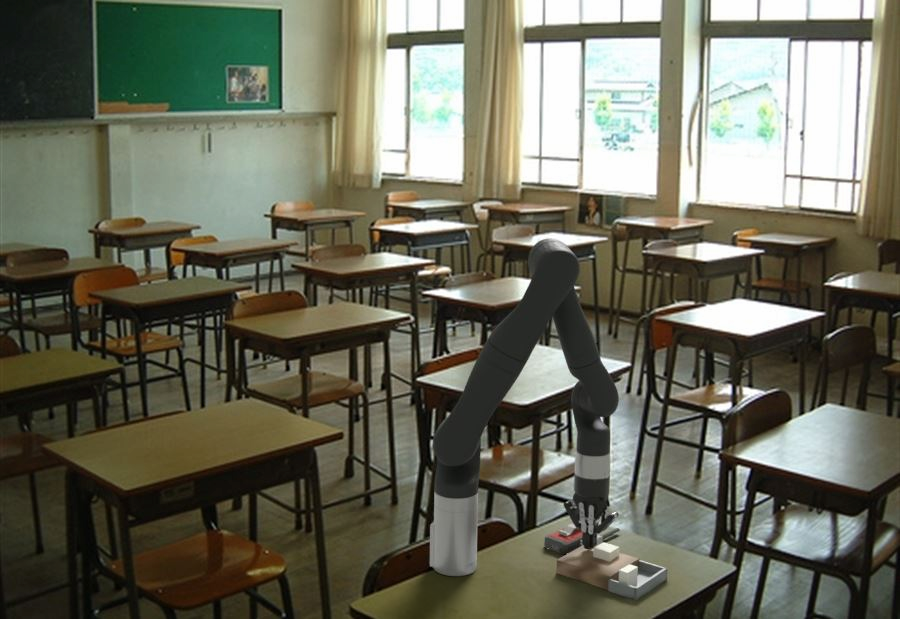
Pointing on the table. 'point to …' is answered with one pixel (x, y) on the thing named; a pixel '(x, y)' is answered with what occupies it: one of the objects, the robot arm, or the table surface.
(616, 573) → the tan flat block
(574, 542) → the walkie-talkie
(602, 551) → the tile
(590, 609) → the table surface
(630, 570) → the tile
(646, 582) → the box
